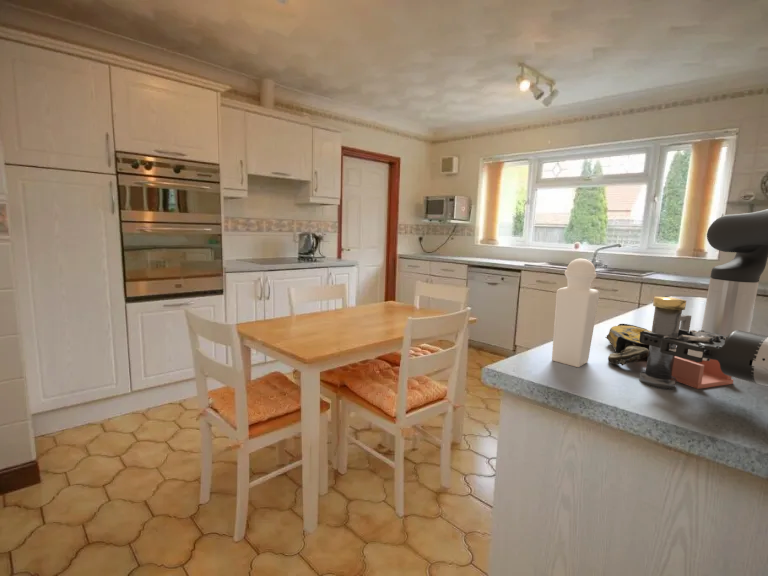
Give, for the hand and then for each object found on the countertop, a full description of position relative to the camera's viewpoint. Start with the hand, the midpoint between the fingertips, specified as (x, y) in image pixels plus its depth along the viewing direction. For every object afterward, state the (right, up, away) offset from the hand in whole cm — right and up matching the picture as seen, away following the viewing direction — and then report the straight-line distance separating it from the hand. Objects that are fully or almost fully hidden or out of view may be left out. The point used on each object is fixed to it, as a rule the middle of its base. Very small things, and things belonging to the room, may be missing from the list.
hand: (653, 334), depth 75 cm
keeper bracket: (+10, -9, +4) cm, 14 cm away
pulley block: (+7, -7, +17) cm, 20 cm away
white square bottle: (-11, -7, +10) cm, 17 cm away
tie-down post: (+1, -9, 0) cm, 9 cm away
